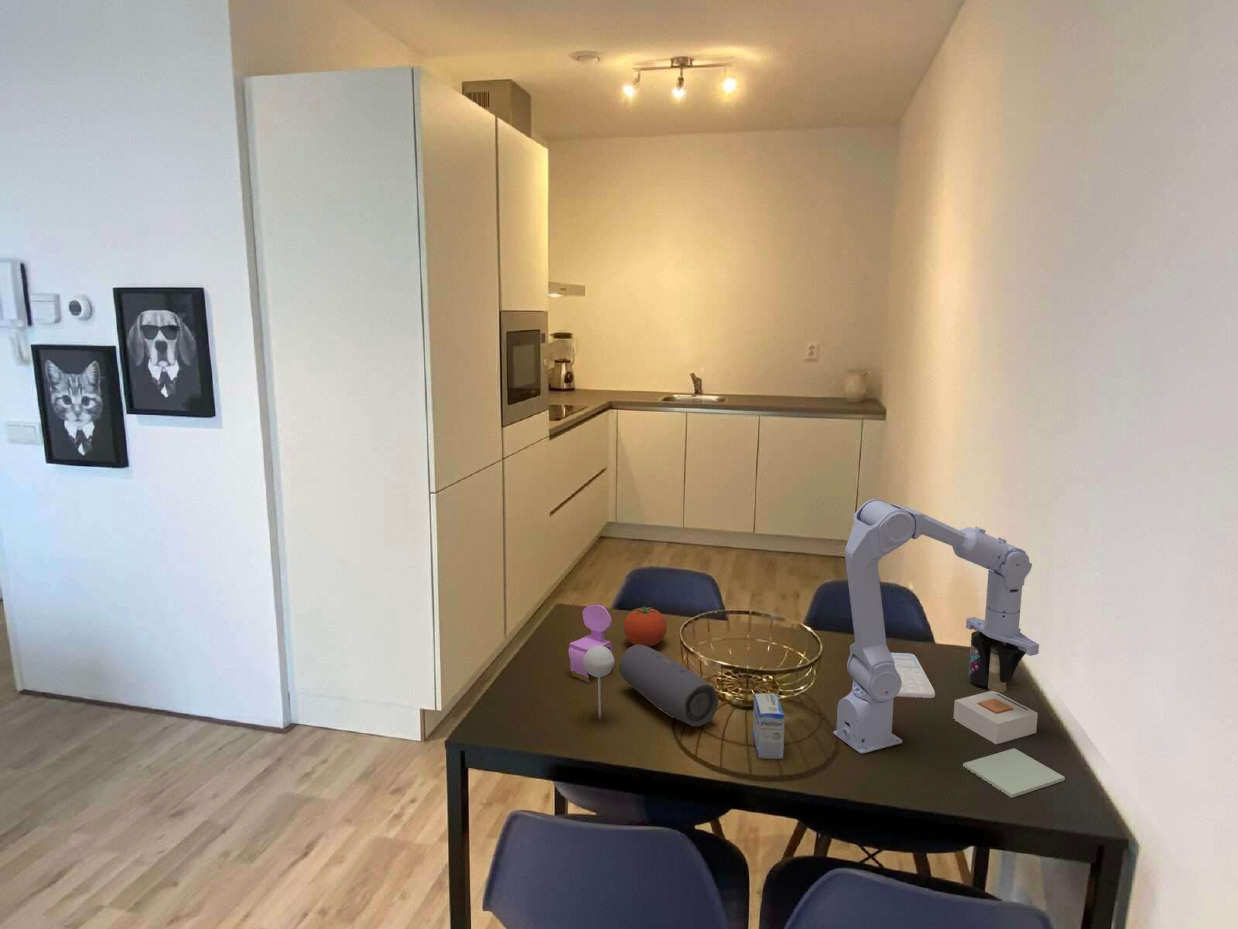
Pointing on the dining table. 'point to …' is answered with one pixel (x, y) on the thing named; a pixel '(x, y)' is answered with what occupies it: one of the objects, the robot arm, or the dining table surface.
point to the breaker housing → (995, 718)
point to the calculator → (912, 677)
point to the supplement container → (977, 665)
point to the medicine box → (768, 726)
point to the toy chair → (590, 637)
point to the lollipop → (598, 665)
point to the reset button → (995, 706)
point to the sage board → (1013, 772)
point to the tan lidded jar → (995, 672)
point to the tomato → (645, 626)
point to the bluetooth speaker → (669, 685)
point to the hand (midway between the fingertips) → (997, 677)
